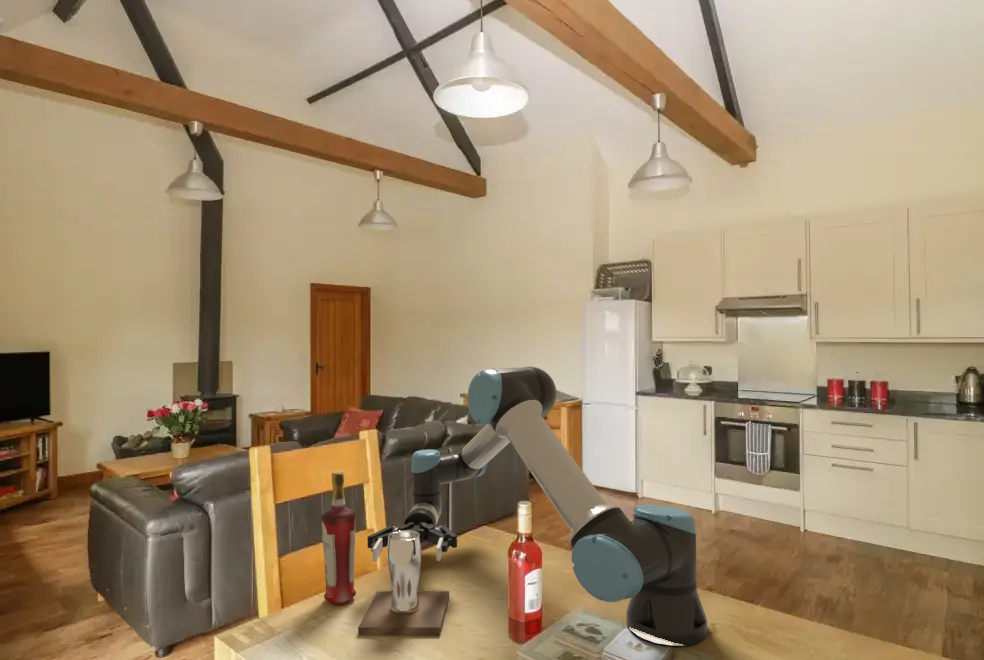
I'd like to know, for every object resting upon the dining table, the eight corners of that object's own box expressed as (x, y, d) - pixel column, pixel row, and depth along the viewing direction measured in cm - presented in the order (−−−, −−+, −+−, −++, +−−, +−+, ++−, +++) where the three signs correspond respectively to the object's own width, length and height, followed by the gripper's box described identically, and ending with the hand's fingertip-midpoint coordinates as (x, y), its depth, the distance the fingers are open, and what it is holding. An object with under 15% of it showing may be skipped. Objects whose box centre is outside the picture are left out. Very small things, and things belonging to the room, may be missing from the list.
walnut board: (449, 598, 130) (449, 591, 130) (440, 635, 114) (440, 627, 114) (377, 598, 131) (377, 591, 131) (358, 635, 115) (358, 627, 115)
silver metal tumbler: (415, 616, 119) (414, 542, 119) (383, 614, 120) (381, 540, 120) (426, 601, 125) (425, 530, 125) (395, 599, 127) (394, 529, 127)
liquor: (319, 597, 132) (317, 471, 132) (352, 590, 135) (350, 467, 135) (327, 611, 125) (324, 478, 125) (361, 603, 129) (358, 474, 129)
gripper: (471, 537, 146) (465, 572, 125) (371, 538, 147) (348, 572, 126) (471, 506, 146) (464, 536, 125) (370, 507, 147) (347, 537, 126)
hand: (406, 554), depth 125 cm, fingers open, 13 cm apart
